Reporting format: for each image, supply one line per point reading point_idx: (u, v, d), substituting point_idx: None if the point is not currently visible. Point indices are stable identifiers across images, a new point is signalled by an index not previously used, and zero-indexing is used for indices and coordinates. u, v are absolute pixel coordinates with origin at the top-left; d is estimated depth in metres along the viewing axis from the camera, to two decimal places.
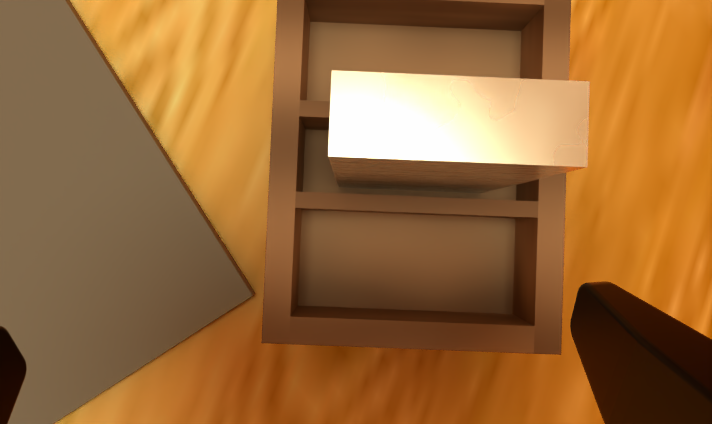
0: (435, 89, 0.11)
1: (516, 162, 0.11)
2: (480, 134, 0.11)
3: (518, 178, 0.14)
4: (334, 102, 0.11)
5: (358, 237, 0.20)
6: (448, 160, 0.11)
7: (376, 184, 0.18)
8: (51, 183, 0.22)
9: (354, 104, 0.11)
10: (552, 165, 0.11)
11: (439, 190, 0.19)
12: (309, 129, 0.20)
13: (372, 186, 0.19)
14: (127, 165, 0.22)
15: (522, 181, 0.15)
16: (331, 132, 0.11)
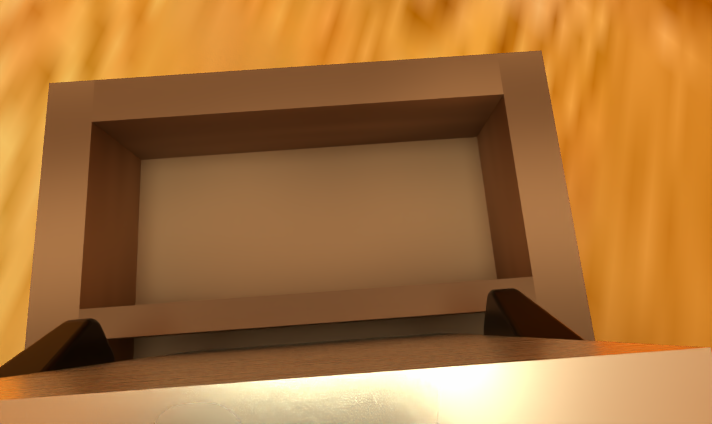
0: None
1: None
2: None
3: None
4: None
5: None
6: None
7: None
8: None
9: None
10: None
11: None
12: (139, 338, 0.11)
13: None
14: None
15: None
16: None
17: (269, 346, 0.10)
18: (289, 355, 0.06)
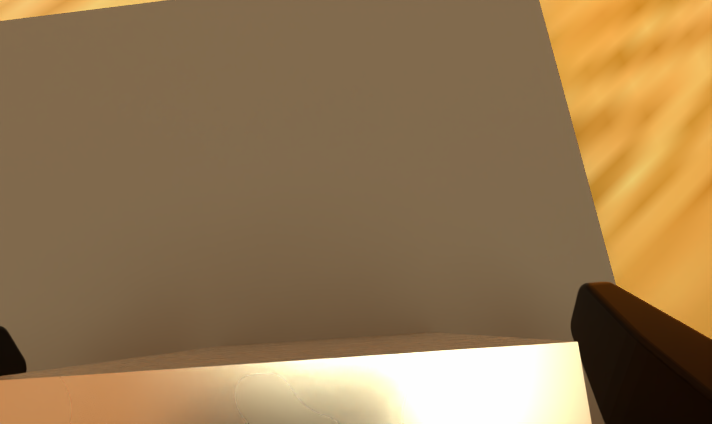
0: (196, 407, 0.04)
1: None
2: None
3: None
4: None
5: None
6: None
7: None
8: (427, 220, 0.14)
9: None
10: None
11: None
12: None
13: None
14: (547, 243, 0.14)
15: None
16: None
17: None
18: (307, 348, 0.07)
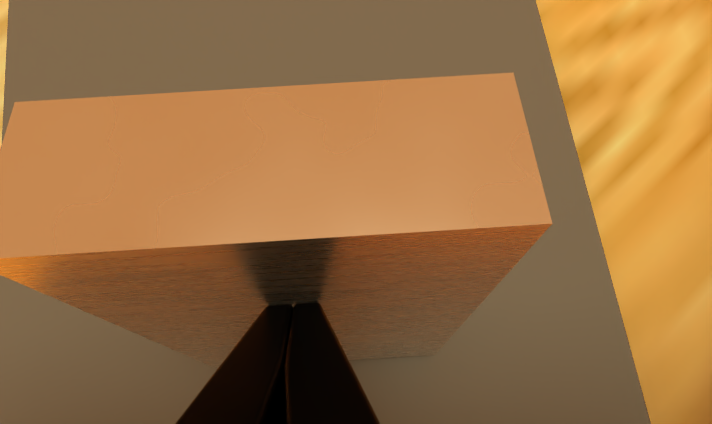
0: (214, 112, 0.06)
1: (391, 229, 0.05)
2: (308, 182, 0.05)
3: (450, 298, 0.07)
4: (6, 154, 0.05)
5: None
6: (239, 241, 0.05)
7: None
8: None
9: (47, 154, 0.05)
10: (474, 228, 0.05)
11: (367, 355, 0.12)
12: None
13: None
14: None
15: (466, 309, 0.08)
16: None
17: None
18: None
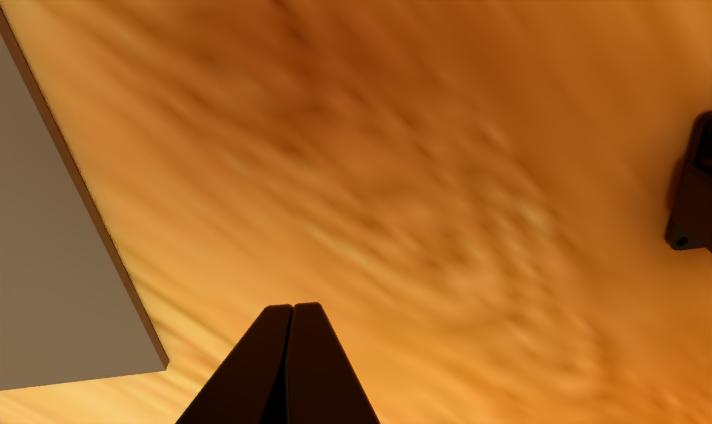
0: None
1: None
2: None
3: None
4: None
5: None
6: None
7: None
8: None
9: None
10: None
11: None
12: None
13: None
14: None
15: None
16: None
17: None
18: None
